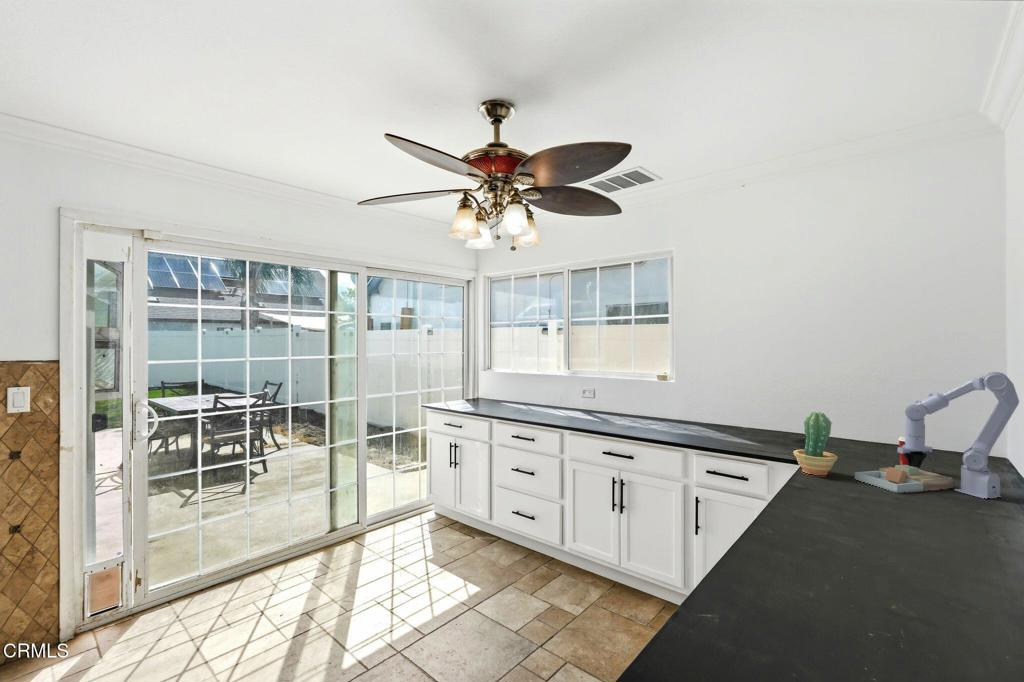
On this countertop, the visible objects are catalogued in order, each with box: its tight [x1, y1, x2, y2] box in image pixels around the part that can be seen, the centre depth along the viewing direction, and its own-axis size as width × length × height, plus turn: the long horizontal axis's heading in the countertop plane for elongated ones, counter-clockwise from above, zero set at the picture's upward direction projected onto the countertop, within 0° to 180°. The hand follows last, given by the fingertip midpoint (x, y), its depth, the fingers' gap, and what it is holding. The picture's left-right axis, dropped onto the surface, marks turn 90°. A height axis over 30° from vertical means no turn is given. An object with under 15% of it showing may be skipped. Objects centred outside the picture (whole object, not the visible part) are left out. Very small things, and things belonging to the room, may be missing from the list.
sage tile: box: [894, 464, 920, 475], centre depth 178 cm, size 5×5×2 cm
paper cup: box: [897, 435, 909, 466], centre depth 196 cm, size 8×8×14 cm
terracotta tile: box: [885, 466, 907, 484], centre depth 176 cm, size 5×5×2 cm
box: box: [854, 470, 924, 494], centre depth 176 cm, size 16×12×3 cm
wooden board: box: [878, 466, 953, 492], centre depth 179 cm, size 16×14×4 cm
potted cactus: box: [792, 411, 839, 475], centre depth 191 cm, size 15×15×25 cm
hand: (914, 471), depth 179 cm, fingers closed
